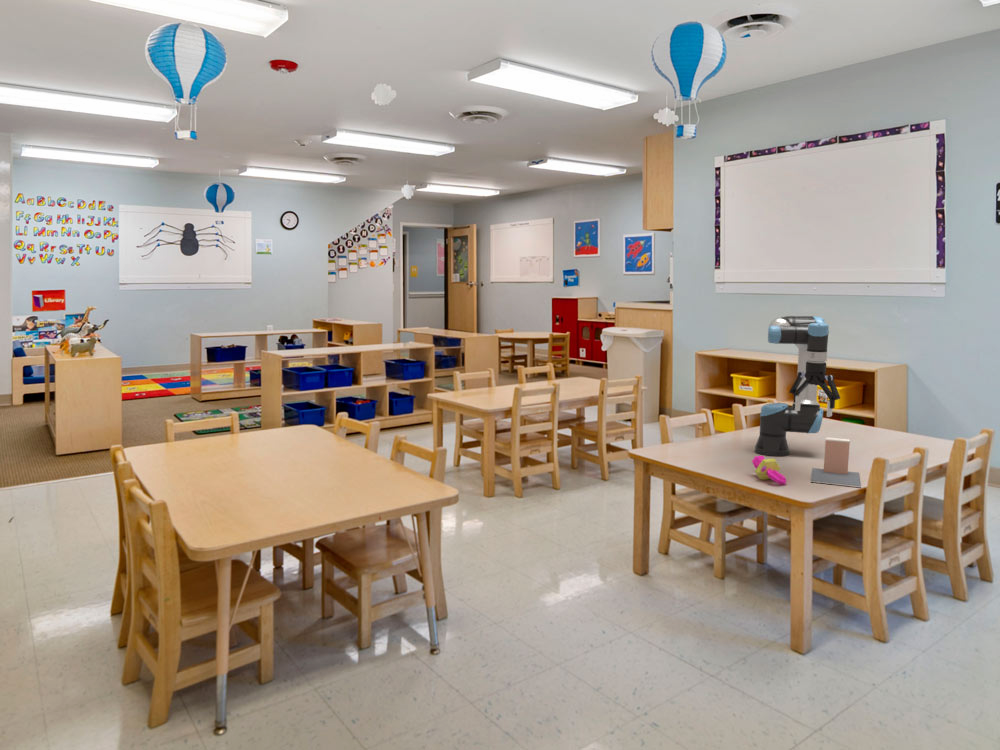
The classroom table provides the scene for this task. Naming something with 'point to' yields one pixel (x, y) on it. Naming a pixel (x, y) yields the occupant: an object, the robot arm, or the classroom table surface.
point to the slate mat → (835, 478)
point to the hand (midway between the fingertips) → (813, 413)
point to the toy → (768, 469)
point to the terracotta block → (836, 455)
